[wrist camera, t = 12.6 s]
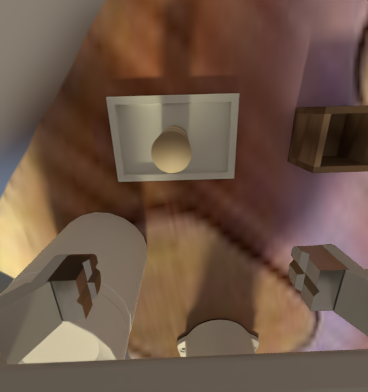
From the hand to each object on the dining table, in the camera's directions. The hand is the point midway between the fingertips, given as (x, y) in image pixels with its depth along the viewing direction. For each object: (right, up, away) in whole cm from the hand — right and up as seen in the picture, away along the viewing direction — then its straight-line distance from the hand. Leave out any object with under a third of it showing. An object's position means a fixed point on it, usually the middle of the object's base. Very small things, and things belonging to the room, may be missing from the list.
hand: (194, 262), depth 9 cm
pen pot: (+20, +12, +24) cm, 34 cm away
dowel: (-2, +11, +23) cm, 26 cm away
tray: (-2, +12, +24) cm, 27 cm away
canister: (-15, -7, +31) cm, 36 cm away
